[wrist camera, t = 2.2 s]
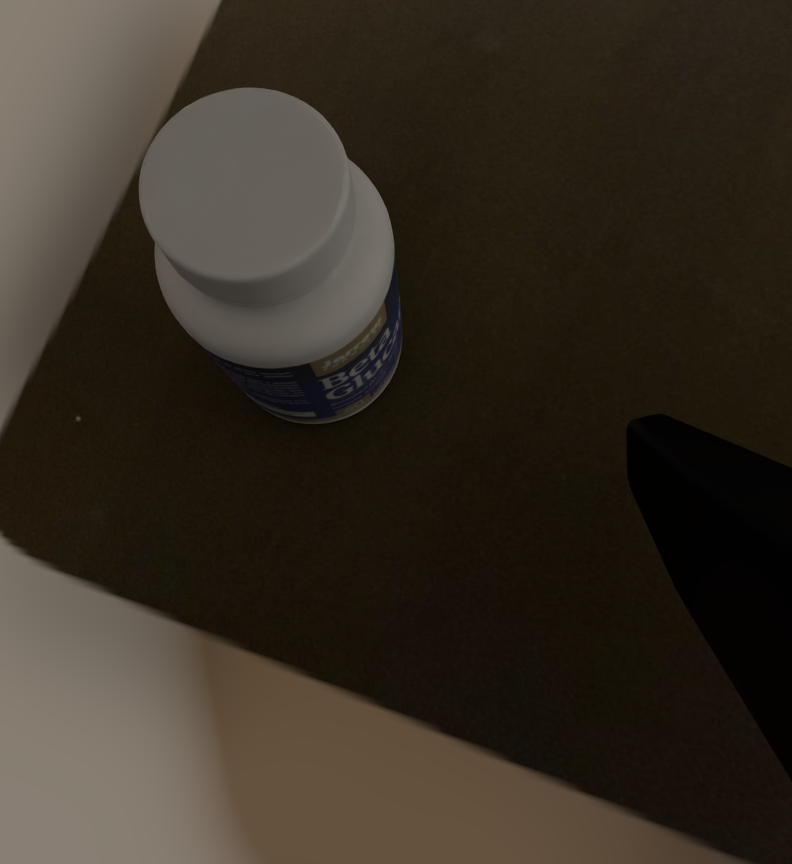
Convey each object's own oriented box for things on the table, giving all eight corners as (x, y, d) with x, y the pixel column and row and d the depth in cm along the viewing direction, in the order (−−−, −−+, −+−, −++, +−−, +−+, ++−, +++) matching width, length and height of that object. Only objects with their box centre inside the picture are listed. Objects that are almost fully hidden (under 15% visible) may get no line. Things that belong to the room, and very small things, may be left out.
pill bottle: (363, 454, 23) (314, 363, 13) (205, 389, 23) (46, 259, 14) (430, 297, 23) (430, 104, 14) (276, 239, 24) (174, 16, 14)
